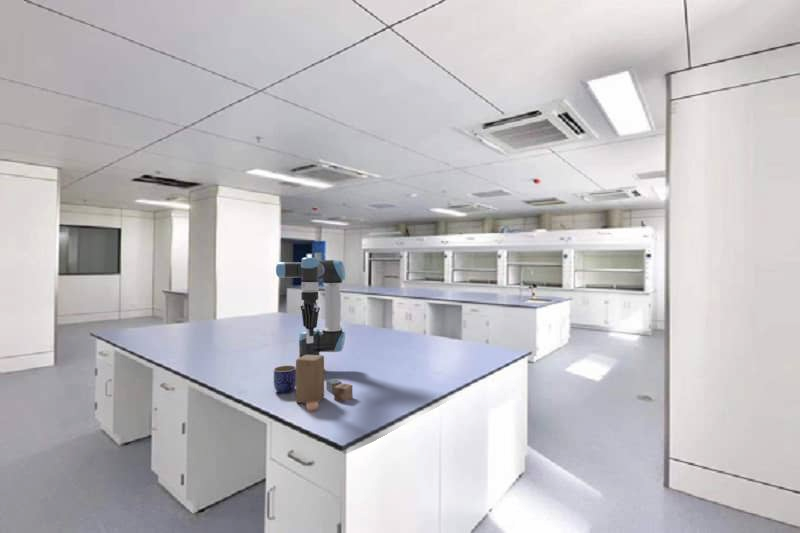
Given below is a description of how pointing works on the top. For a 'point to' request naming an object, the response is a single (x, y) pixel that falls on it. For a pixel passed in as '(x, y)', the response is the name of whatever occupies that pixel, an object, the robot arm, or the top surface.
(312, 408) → the terracotta puck
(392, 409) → the top surface
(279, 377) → the planter
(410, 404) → the top surface
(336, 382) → the gray block
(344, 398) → the walnut cube
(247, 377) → the top surface
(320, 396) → the wooden block
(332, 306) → the robot arm
